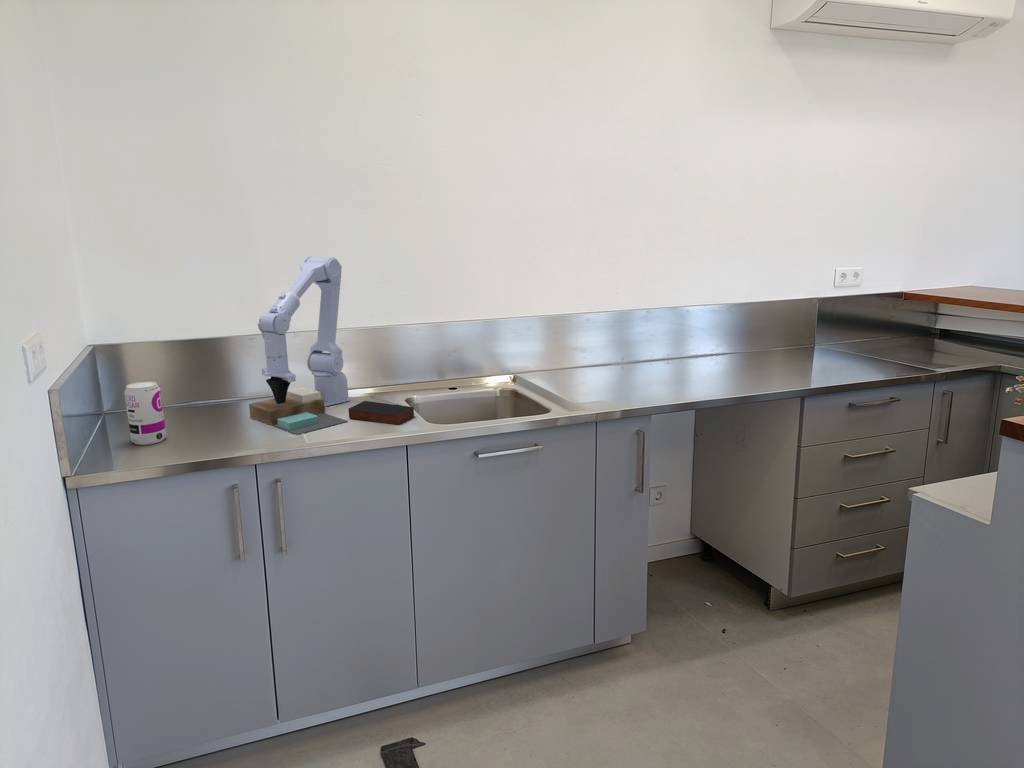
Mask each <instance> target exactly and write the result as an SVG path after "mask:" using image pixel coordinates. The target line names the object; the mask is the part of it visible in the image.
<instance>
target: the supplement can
mask: <svg viewBox="0 0 1024 768" xmlns="http://www.w3.org/2000/svg"><path fill="white" fill-rule="evenodd" d="M161 390H162V389H161V387H160V386H159V385H158V383H157V382H156V381H139V382H138V381H137V382H133V383H129V384H127V385H126V386H125V390H124V400H125V407H126V413H127V420H128V422H127V423H128V428H129V434H130V440H131V442H132V443H134V444H135V445H138V446H148V445H155V444H158V443H160V442H163V441H164V440H165V438H166V437H167V430H166V422H165V414H164V407H163V401H162V398H163V397H162V391H161Z"/></svg>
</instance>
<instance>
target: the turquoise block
mask: <svg viewBox="0 0 1024 768" xmlns="http://www.w3.org/2000/svg"><path fill="white" fill-rule="evenodd" d="M277 421H278V426H279V427H282V428H284V429H287V430H293V429H297V428H301V427H305V426H309V425H313V424H317V423H319V421H318V416H316V415H313V414H310V413H307V412H305V413H301V414H297V415H292V416H288V417H284V418H280V419H277Z"/></svg>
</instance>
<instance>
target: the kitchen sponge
mask: <svg viewBox="0 0 1024 768" xmlns="http://www.w3.org/2000/svg"><path fill="white" fill-rule="evenodd" d="M370 398H373V399H376V400H380V401H383V402H384V403H383V402H377V401H370V400H364V401H361V402H359V403H357V404H355V405H353V406H351V407H349V408H348V418H349V419H354V420H362V421H369V422H376V423H377V422H378V423H381V424H382V423H384V424H391V425H397V426H399V425H402V424H403V423H405V422H407V421H409V420H410V419H412V418H414V417H415V409H414V408H415V407H414V406H408V405H402V404H399V403H394V402H391V401H387V400H384V399H381V398H377V397H373V396H372V395H371V396H370ZM385 402H387V403H385Z"/></svg>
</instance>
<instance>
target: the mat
mask: <svg viewBox="0 0 1024 768" xmlns="http://www.w3.org/2000/svg"><path fill="white" fill-rule="evenodd" d="M316 416H318V421H319V423H317V424H313V425H309V426H305V427H301V428H297V429H293V430H287V429H284V428H282V427H279V426H278V424H276V425H272V427H274V428H277V429H280V430H283V431H284V430H285V432H287V431H288V433H290V432H291V433H290V434H292V433H294V434H293V435H295V434H300V435H302V434H301V433H304V434H307V433H311V432H315V431H318V430H319V431H320V430H322V429H326V428H330V427H335V426H337V425H342V424H345V423H348V422H349V421H348V420H347V419H343V418H341V417H338V416H333V415H332V414H328V413H326V412H325V413H321V414H317V415H316Z"/></svg>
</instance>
